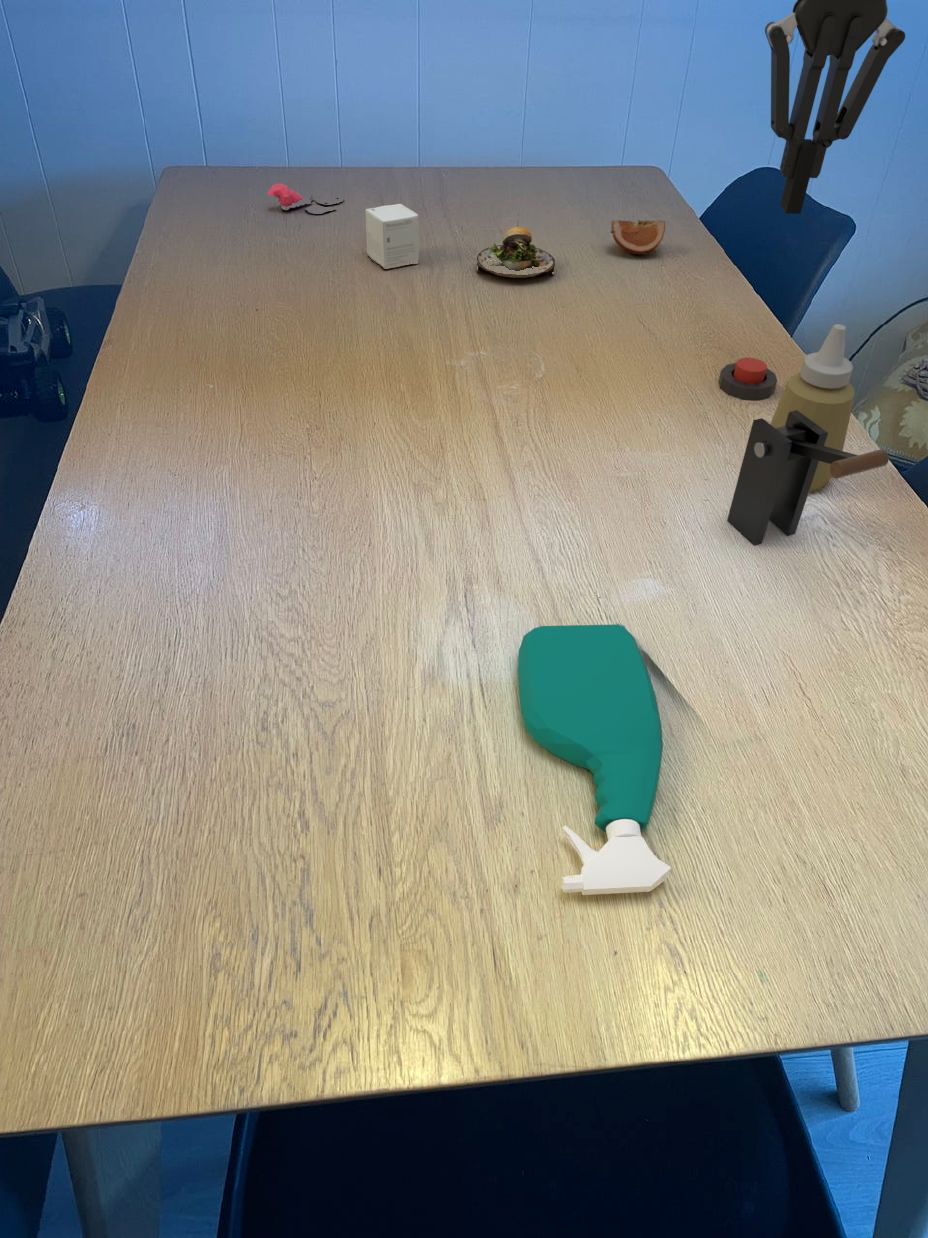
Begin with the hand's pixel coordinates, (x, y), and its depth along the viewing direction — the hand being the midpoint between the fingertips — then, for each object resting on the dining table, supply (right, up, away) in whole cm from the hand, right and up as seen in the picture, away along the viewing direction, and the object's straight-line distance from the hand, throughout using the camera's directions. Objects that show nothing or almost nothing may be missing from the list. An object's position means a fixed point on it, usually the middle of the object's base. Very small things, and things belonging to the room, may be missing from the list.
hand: (790, 208), depth 99 cm
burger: (-27, +9, +42) cm, 51 cm away
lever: (-3, -30, -16) cm, 34 cm away
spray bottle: (-25, -54, -27) cm, 66 cm away
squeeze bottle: (0, -29, +1) cm, 29 cm away
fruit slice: (-8, +15, +49) cm, 52 cm away
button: (0, -14, +13) cm, 20 cm away
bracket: (-5, -36, -6) cm, 37 cm away
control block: (0, -18, +14) cm, 22 cm away
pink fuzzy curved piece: (-61, +27, +61) cm, 91 cm away
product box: (-46, +11, +44) cm, 64 cm away
